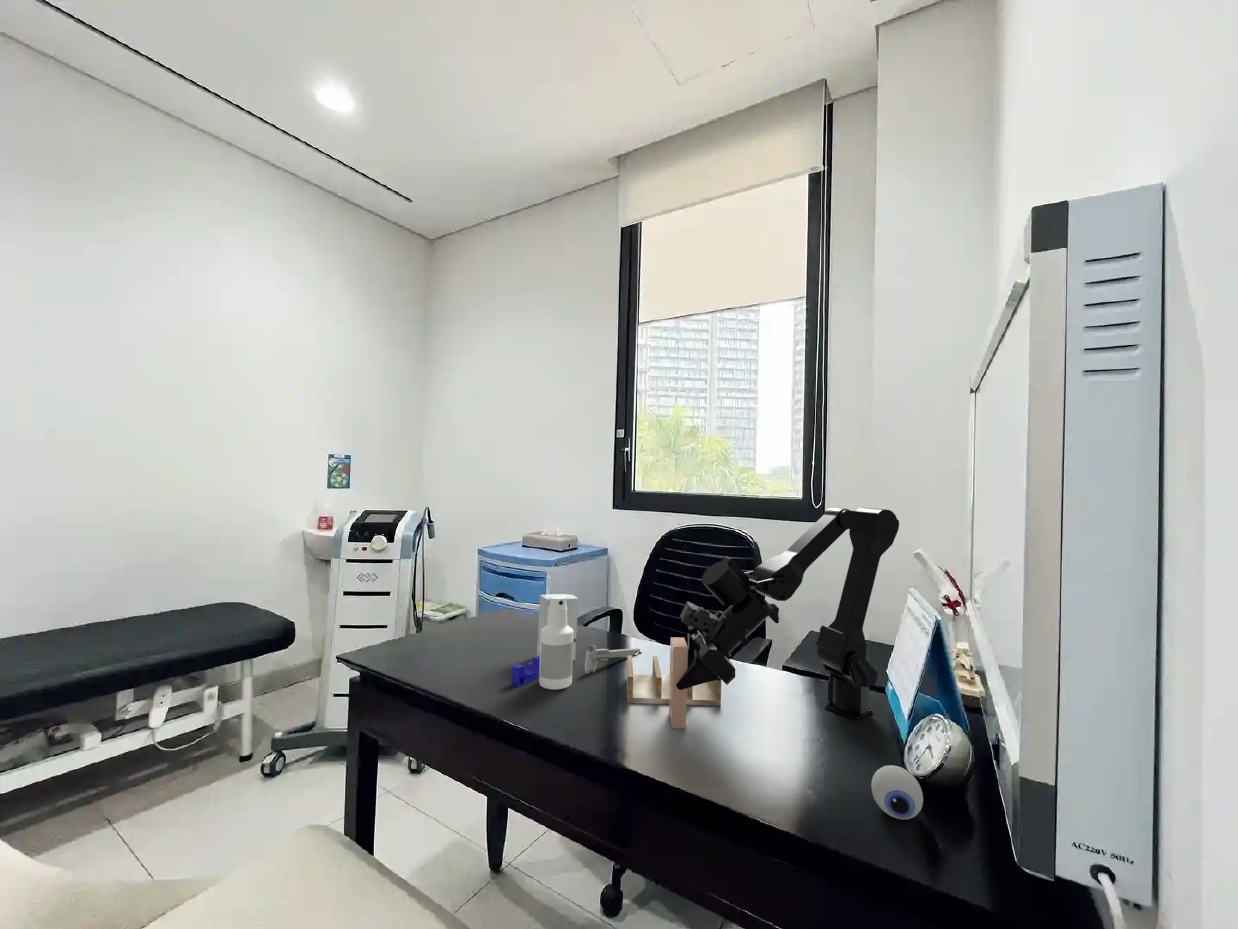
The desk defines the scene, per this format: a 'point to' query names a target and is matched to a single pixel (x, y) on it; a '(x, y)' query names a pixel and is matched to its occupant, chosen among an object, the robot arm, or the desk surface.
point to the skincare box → (571, 616)
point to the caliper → (604, 656)
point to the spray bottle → (556, 647)
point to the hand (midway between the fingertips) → (675, 681)
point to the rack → (667, 688)
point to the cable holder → (525, 672)
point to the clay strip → (676, 672)
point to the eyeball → (897, 792)
